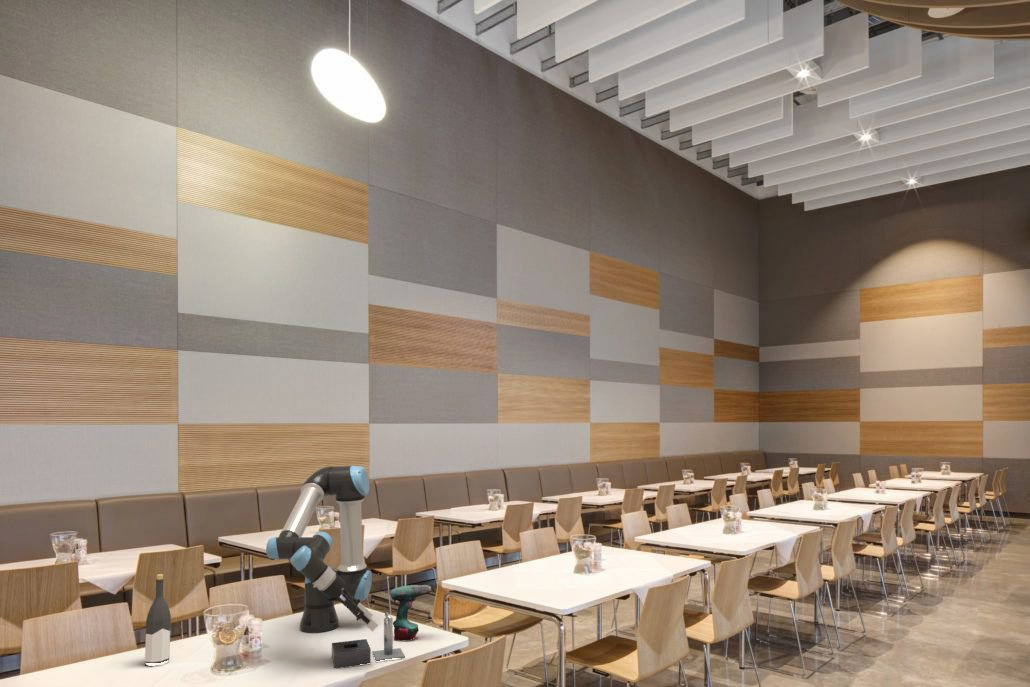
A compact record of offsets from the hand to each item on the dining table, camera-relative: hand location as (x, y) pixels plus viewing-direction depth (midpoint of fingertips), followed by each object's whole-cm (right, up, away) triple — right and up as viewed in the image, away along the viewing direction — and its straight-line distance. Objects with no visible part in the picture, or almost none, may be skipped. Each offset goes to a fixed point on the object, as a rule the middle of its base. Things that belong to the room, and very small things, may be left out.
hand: (372, 622), depth 250 cm
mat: (+5, -12, +1) cm, 13 cm away
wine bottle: (-75, -14, -1) cm, 76 cm away
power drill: (+11, -14, +20) cm, 27 cm away
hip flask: (+5, -11, +1) cm, 12 cm away
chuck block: (-7, -12, -3) cm, 14 cm away
